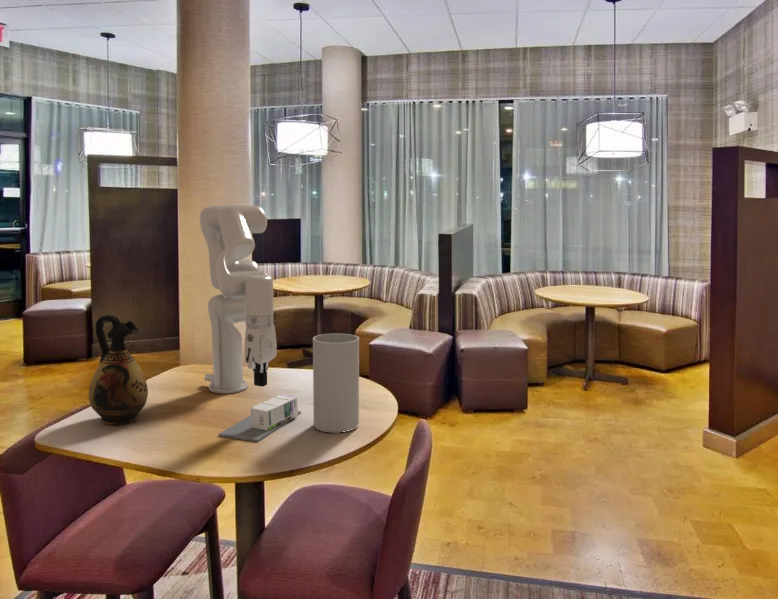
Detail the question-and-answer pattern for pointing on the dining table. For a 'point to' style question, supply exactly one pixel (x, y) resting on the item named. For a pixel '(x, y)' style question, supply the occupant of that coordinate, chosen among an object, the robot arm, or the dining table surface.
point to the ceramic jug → (117, 376)
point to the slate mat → (248, 431)
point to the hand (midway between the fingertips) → (260, 385)
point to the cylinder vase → (336, 382)
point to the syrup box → (274, 412)
